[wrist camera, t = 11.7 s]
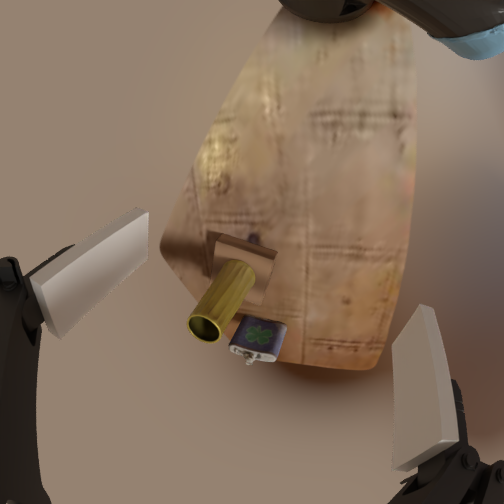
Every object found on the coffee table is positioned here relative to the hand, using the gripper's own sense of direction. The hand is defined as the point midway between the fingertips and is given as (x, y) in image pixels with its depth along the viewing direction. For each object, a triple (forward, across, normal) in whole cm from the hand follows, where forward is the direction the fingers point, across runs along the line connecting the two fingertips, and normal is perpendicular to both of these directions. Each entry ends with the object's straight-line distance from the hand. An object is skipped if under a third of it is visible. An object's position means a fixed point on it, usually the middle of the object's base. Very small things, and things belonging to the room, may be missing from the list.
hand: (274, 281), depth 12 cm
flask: (+32, -1, -34) cm, 46 cm away
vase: (+29, -8, -22) cm, 37 cm away
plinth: (+31, -8, -22) cm, 39 cm away
